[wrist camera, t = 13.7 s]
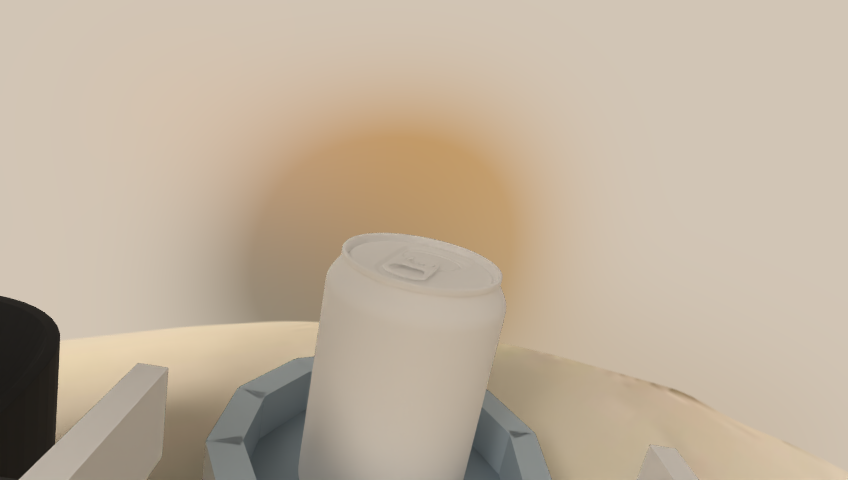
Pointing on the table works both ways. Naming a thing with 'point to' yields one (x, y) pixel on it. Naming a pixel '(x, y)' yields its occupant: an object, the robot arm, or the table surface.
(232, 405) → the bowl
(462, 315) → the beverage can
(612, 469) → the table surface
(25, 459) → the pen holder
